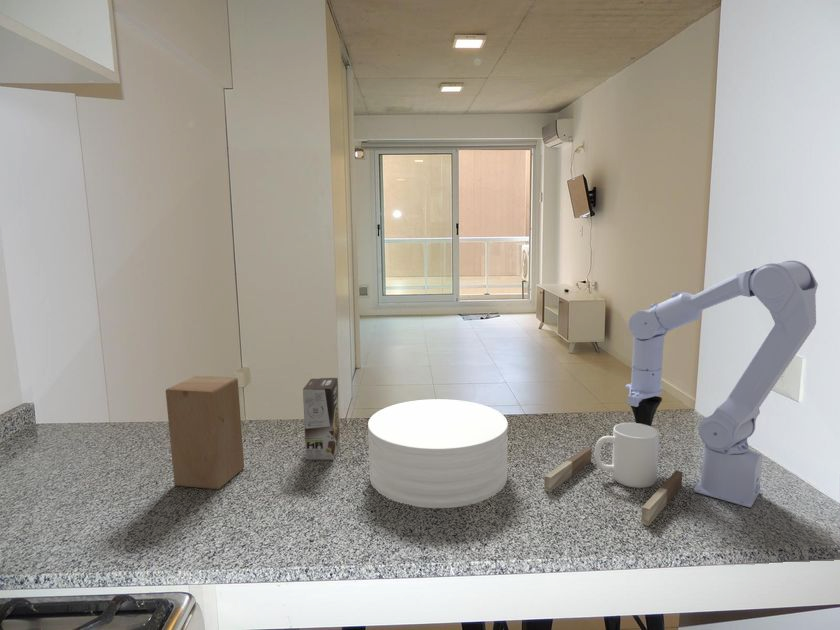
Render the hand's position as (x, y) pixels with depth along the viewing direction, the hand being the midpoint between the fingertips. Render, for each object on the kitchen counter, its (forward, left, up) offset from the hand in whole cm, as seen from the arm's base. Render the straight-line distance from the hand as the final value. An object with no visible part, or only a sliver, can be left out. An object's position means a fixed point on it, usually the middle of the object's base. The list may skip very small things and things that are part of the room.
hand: (643, 430), depth 116 cm
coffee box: (+57, +39, -7) cm, 69 cm away
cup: (0, +10, -7) cm, 12 cm away
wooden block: (+65, +62, -7) cm, 90 cm away
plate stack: (+30, +31, -8) cm, 44 cm away
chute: (0, +15, -7) cm, 17 cm away
